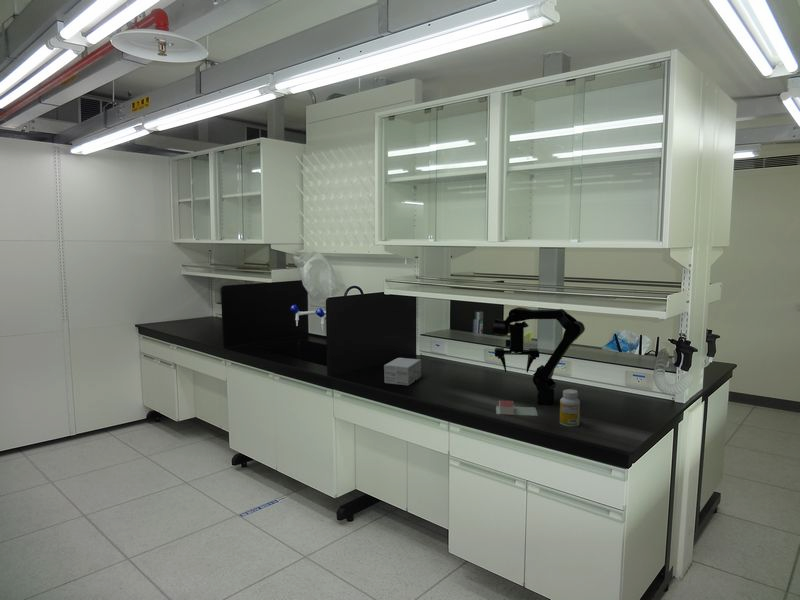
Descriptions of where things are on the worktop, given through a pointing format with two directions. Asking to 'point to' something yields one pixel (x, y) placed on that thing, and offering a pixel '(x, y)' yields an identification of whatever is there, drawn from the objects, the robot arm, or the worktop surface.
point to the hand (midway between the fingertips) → (516, 372)
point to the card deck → (506, 407)
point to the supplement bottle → (570, 408)
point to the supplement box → (402, 371)
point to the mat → (521, 411)
